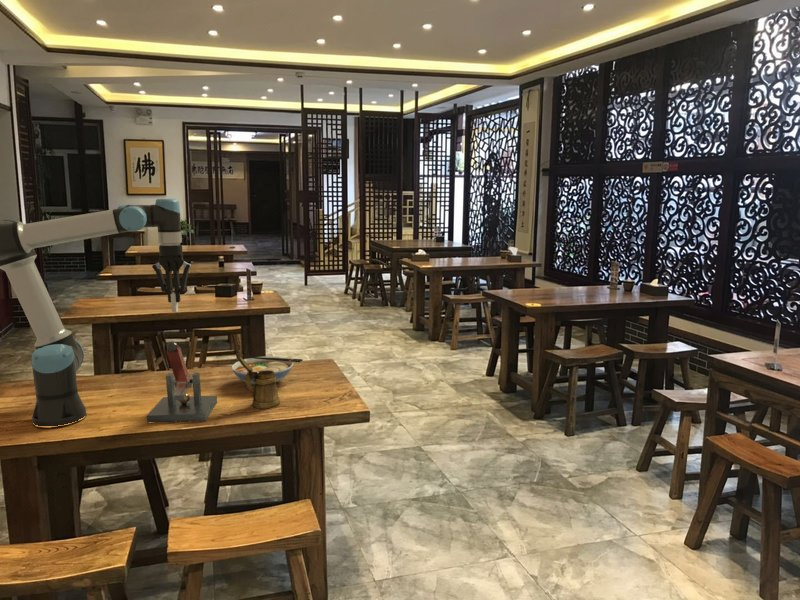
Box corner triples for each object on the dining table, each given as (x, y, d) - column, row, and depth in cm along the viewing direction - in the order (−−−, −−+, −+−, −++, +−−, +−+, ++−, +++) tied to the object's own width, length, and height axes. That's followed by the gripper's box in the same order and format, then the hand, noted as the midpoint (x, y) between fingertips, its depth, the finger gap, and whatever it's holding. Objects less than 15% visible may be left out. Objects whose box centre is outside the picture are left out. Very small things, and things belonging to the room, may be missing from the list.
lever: (170, 400, 198) (156, 360, 185) (175, 380, 204) (162, 339, 191) (189, 400, 199) (176, 359, 185) (194, 380, 205) (182, 339, 192)
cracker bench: (147, 423, 193) (143, 385, 191) (163, 404, 210) (160, 369, 208) (205, 421, 195) (202, 383, 192) (217, 402, 211) (215, 367, 209)
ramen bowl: (217, 390, 224) (216, 368, 223) (250, 371, 246) (249, 352, 244) (279, 396, 217) (278, 374, 215) (307, 377, 238) (306, 356, 237)
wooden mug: (239, 402, 211) (236, 351, 208) (279, 398, 215) (276, 348, 211) (239, 411, 203) (236, 358, 200) (281, 407, 206) (278, 355, 203)
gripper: (192, 243, 215) (196, 309, 219) (154, 243, 214) (159, 309, 218) (187, 245, 208) (191, 313, 212) (147, 245, 207) (152, 314, 211)
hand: (175, 311), depth 215 cm, fingers closed
